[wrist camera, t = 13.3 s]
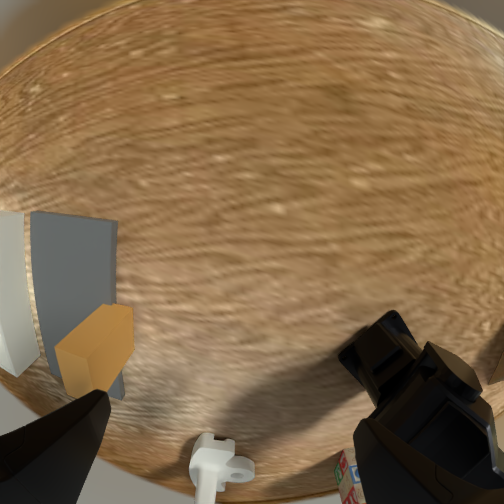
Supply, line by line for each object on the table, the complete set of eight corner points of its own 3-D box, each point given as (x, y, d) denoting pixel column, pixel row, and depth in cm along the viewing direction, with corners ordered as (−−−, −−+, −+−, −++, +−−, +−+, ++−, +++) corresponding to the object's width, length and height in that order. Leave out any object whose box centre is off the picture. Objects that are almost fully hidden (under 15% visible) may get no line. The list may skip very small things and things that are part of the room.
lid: (142, 222, 19) (76, 245, 11) (143, 393, 23) (114, 457, 14) (42, 209, 19) (-28, 223, 10) (59, 365, 23) (18, 410, 14)
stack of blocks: (466, 408, 25) (504, 457, 13) (451, 434, 27) (482, 481, 15) (341, 448, 25) (365, 527, 13) (332, 471, 27) (349, 540, 15)
